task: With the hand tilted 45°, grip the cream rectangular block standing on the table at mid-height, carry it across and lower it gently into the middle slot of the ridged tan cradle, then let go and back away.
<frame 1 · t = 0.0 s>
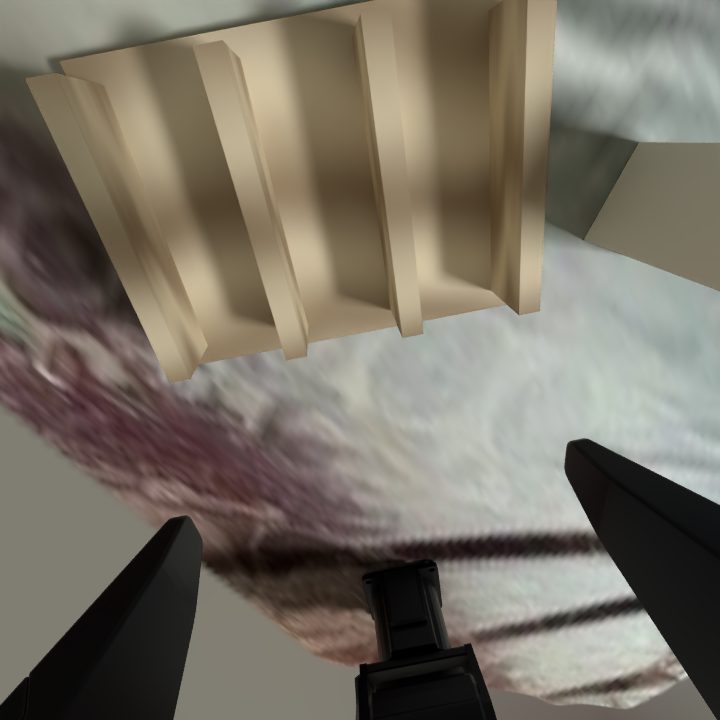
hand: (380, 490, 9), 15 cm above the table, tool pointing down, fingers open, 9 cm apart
ridged tan cradle: (326, 200, 20), on the table
cream rectangular block: (632, 202, 22), on the table
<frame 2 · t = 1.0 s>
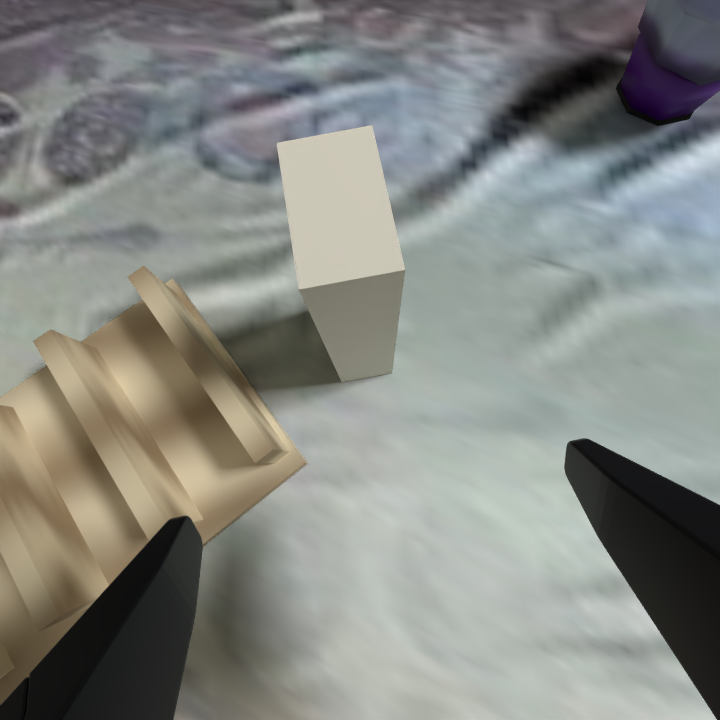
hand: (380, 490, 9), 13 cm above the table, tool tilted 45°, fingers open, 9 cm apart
potion bottle: (656, 94, 28), on the table
ridged tan cradle: (108, 466, 23), on the table
cream rectangular block: (359, 337, 24), on the table
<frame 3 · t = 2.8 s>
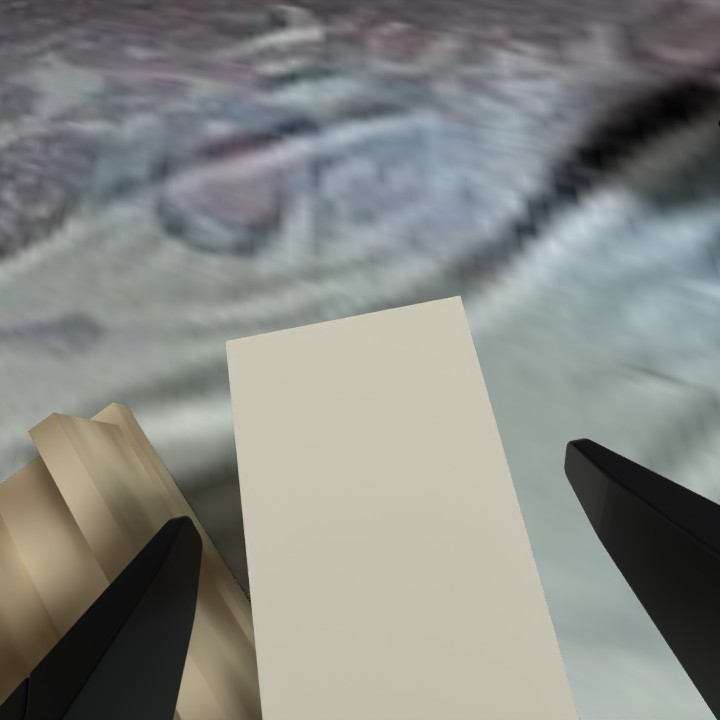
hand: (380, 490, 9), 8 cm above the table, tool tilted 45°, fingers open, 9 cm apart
ridged tan cradle: (9, 697, 15), on the table
cream rectangular block: (382, 489, 17), on the table
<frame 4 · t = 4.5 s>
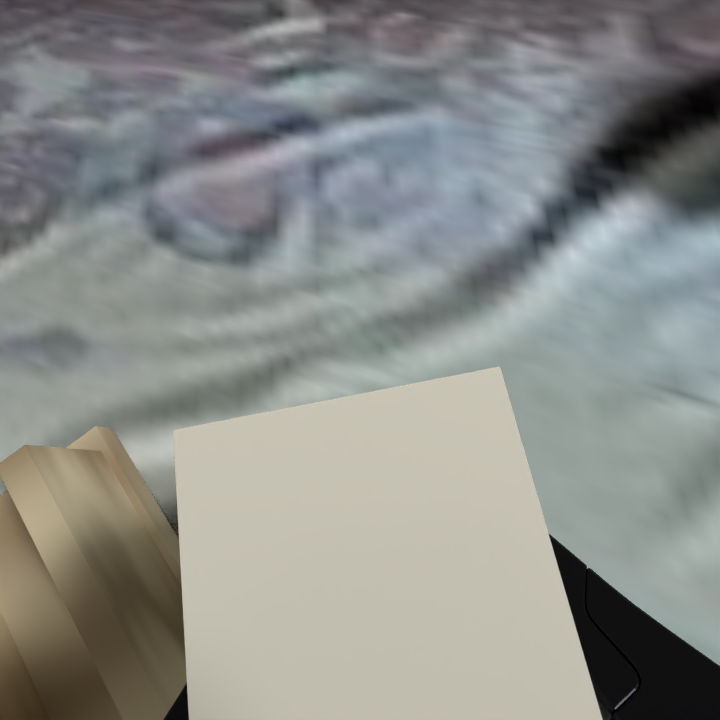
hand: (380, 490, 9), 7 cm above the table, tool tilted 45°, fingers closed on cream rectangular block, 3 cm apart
cream rectangular block: (388, 521, 15), on the table, touching gripper
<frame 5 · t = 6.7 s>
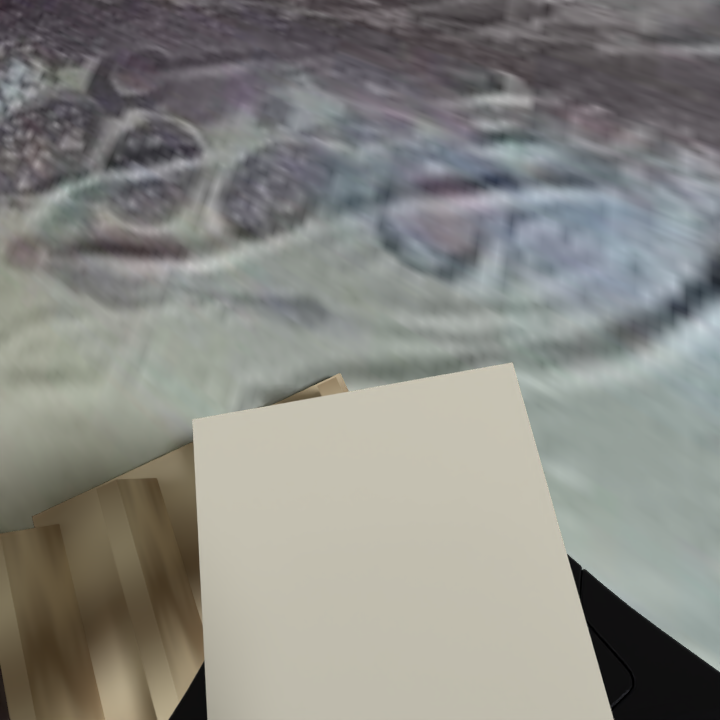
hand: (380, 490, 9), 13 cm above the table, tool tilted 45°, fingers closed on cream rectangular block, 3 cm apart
ridged tan cradle: (239, 564, 22), on the table
cream rectangular block: (391, 519, 16), point 7 cm above the table, touching gripper
when the fingers open (9 cm above the table, at t = 9.1 s): cream rectangular block drops 1 cm, resting on ridged tan cradle.
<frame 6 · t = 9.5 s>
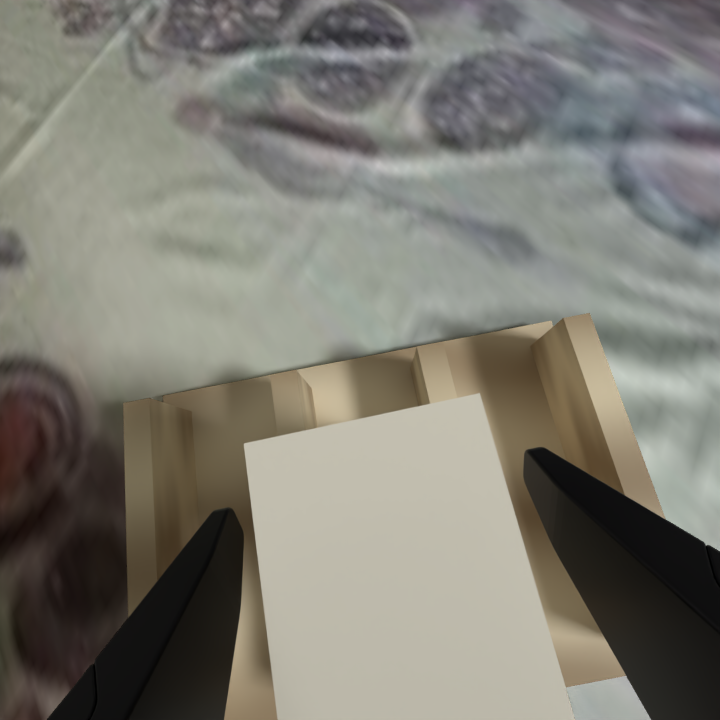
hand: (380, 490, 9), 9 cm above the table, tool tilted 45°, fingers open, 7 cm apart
ridged tan cradle: (386, 513, 18), on the table
cream rectangular block: (389, 516, 17), point 1 cm above the table, touching ridged tan cradle
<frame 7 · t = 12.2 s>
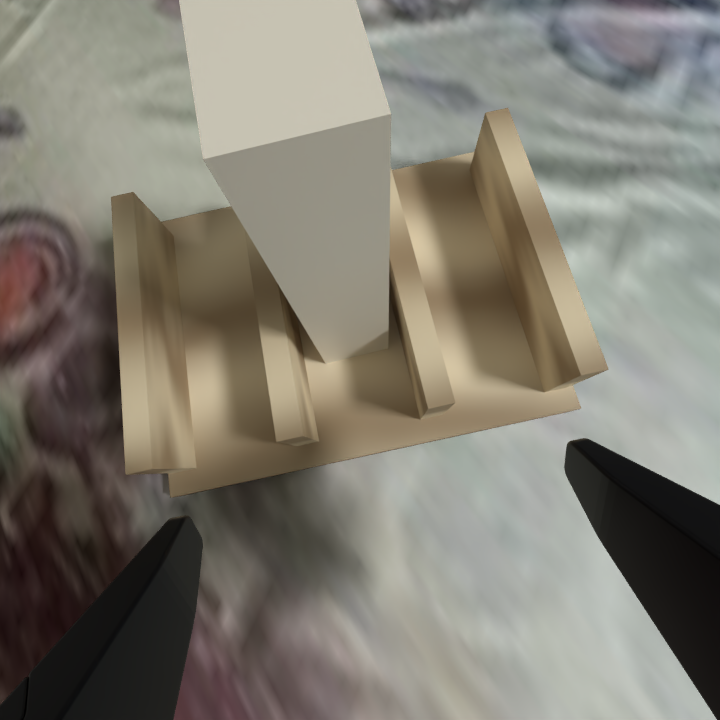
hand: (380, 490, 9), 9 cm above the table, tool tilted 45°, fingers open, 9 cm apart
ridged tan cradle: (345, 315, 20), on the table
cream rectangular block: (345, 307, 19), point 1 cm above the table, touching ridged tan cradle
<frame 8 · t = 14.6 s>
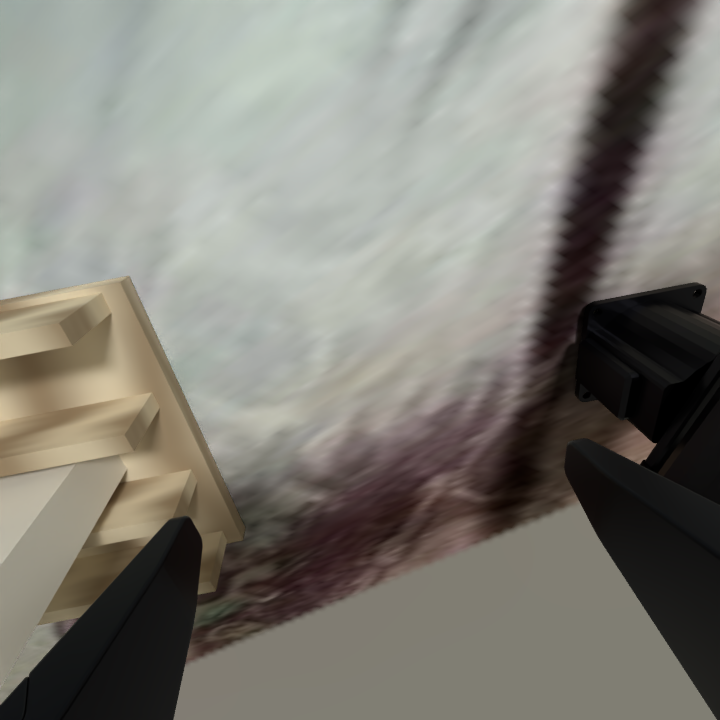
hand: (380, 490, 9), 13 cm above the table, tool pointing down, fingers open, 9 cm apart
ridged tan cradle: (81, 448, 24), on the table
cream rectangular block: (71, 458, 23), point 1 cm above the table, touching ridged tan cradle
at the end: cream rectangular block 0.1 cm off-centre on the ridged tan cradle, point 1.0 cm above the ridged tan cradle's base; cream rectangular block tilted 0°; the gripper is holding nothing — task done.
